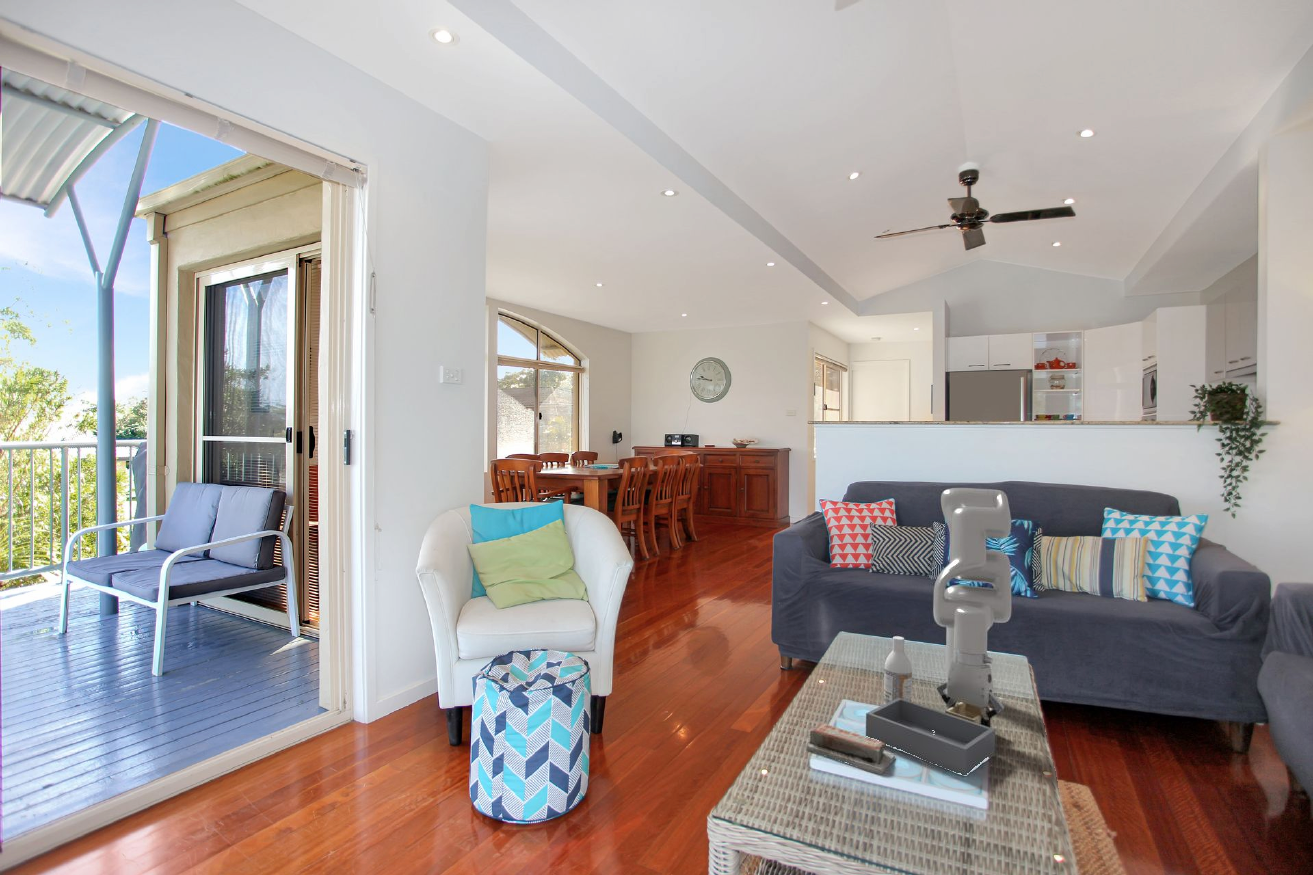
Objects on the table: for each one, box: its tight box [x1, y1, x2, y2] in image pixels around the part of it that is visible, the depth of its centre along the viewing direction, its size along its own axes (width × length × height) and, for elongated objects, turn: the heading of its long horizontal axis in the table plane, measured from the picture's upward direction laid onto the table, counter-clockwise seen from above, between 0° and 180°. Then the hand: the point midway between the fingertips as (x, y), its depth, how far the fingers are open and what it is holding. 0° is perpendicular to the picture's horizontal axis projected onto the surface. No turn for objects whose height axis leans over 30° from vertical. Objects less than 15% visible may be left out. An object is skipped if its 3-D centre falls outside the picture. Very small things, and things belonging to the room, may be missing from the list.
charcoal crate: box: [865, 698, 996, 775], centre depth 155 cm, size 16×24×6 cm, turn 41°
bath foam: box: [883, 635, 913, 705], centre depth 175 cm, size 7×7×20 cm
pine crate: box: [944, 702, 994, 728], centre depth 162 cm, size 11×7×6 cm, turn 131°
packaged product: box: [805, 722, 896, 775], centre depth 150 cm, size 18×5×10 cm
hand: (968, 727), depth 162 cm, fingers closed on pine crate, 7 cm apart
